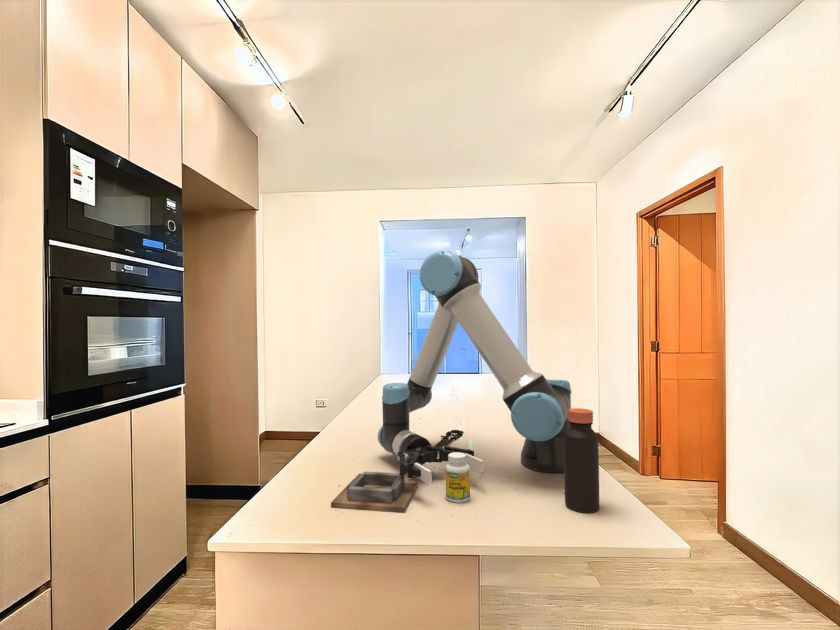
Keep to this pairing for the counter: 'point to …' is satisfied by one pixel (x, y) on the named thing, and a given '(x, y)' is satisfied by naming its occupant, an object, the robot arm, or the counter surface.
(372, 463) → the counter surface
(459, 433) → the knife
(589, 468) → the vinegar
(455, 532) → the counter surface
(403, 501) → the collar board
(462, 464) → the supplement bottle
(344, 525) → the counter surface
